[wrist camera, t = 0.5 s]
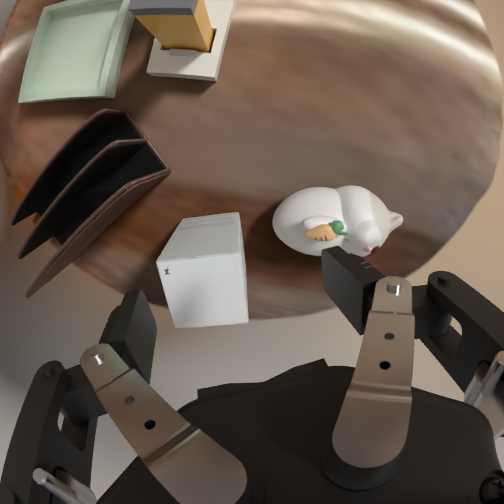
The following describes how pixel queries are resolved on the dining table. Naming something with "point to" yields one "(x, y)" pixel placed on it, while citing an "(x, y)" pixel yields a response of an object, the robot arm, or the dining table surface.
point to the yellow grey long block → (176, 23)
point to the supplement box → (205, 272)
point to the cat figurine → (334, 220)
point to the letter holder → (88, 187)
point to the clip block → (191, 61)
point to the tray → (77, 51)
